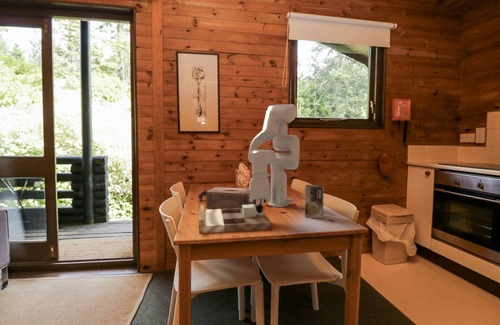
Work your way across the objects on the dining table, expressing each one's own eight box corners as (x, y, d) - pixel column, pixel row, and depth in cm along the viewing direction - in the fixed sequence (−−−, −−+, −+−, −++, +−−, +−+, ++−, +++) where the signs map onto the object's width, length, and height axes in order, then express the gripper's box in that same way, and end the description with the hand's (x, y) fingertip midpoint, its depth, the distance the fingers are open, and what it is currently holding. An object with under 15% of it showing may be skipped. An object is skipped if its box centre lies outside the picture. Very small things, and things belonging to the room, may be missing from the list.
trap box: (259, 212, 152) (259, 203, 152) (271, 229, 126) (271, 217, 125) (200, 215, 147) (199, 205, 147) (199, 232, 121) (198, 220, 120)
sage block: (253, 213, 141) (253, 204, 140) (256, 216, 135) (255, 207, 135) (242, 213, 140) (241, 204, 139) (243, 217, 134) (243, 208, 134)
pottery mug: (210, 204, 174) (203, 192, 173) (200, 208, 179) (193, 197, 178) (220, 195, 185) (213, 184, 184) (210, 200, 189) (203, 189, 188)
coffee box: (323, 215, 148) (324, 185, 146) (322, 218, 142) (323, 187, 140) (306, 213, 151) (306, 184, 149) (304, 217, 145) (305, 186, 143)
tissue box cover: (255, 205, 170) (255, 189, 169) (249, 211, 156) (249, 193, 155) (215, 202, 176) (215, 187, 175) (206, 208, 162) (206, 191, 162)
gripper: (272, 174, 141) (272, 210, 143) (243, 175, 139) (243, 211, 140) (276, 176, 134) (275, 214, 136) (245, 177, 131) (245, 215, 133)
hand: (259, 212), depth 138 cm, fingers closed
